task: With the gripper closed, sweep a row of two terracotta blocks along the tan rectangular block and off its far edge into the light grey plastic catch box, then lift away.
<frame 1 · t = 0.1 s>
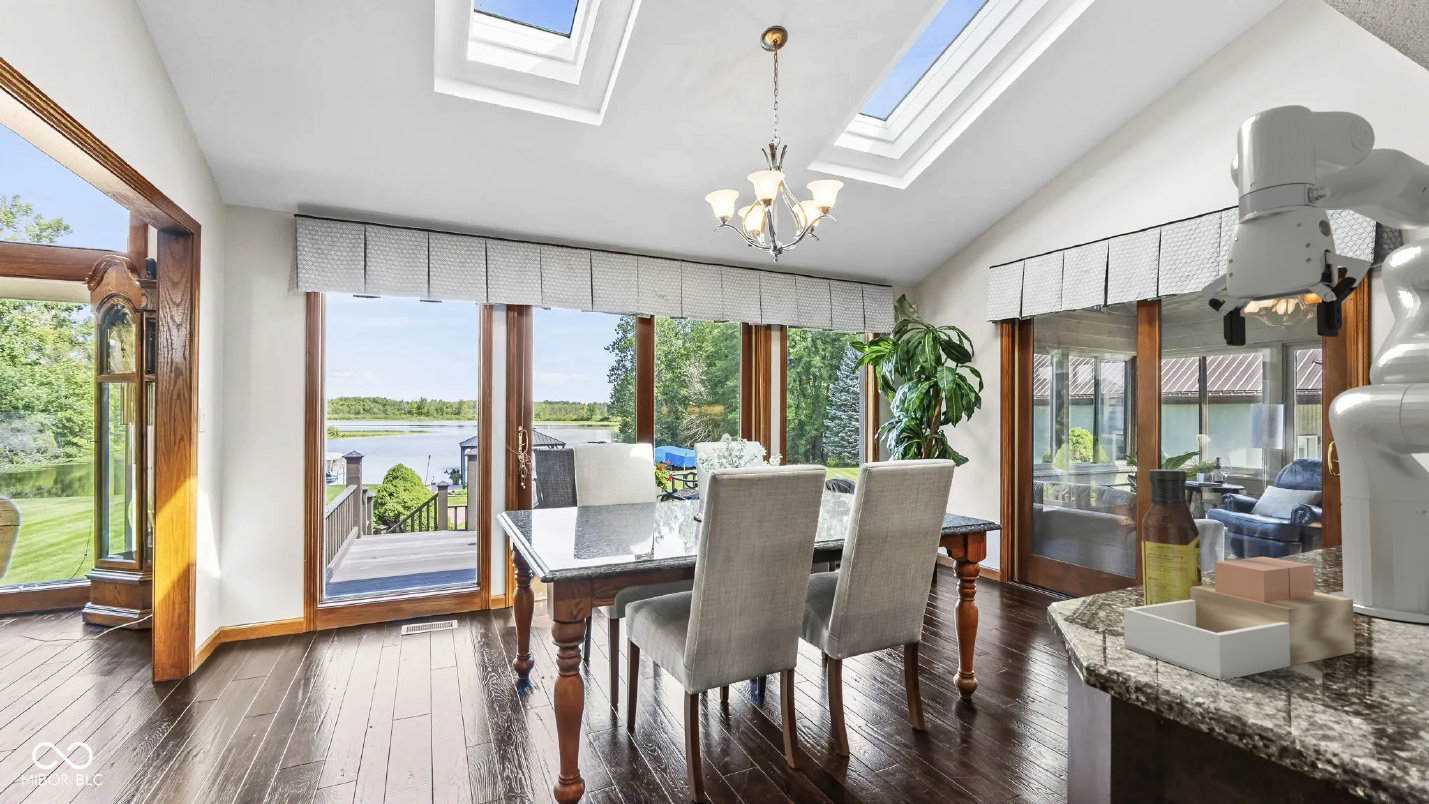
hand: (1279, 341, 81), 37 cm above the countertop, tool pointing down, fingers open, 9 cm apart
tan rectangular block: (1270, 644, 75), on the countertop
sauce bottle: (1172, 624, 83), on the countertop
catch box: (1204, 656, 71), on the countertop
far block: (1251, 595, 74), point 6 cm above the countertop, touching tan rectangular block
near block: (1276, 591, 76), point 6 cm above the countertop, touching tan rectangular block
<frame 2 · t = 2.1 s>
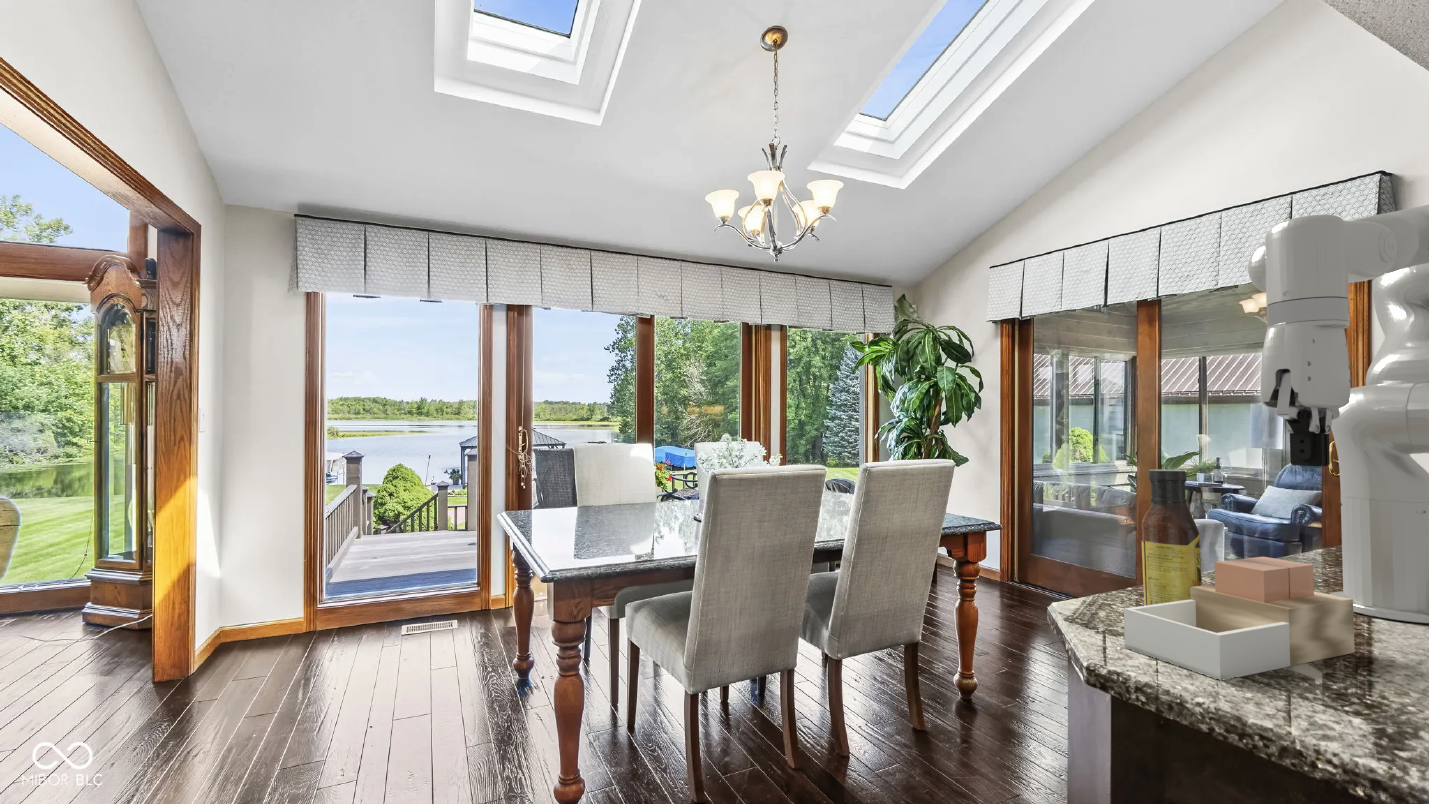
hand: (1309, 465, 79), 21 cm above the countertop, tool pointing down, fingers closed
nothing on the countertop moved.
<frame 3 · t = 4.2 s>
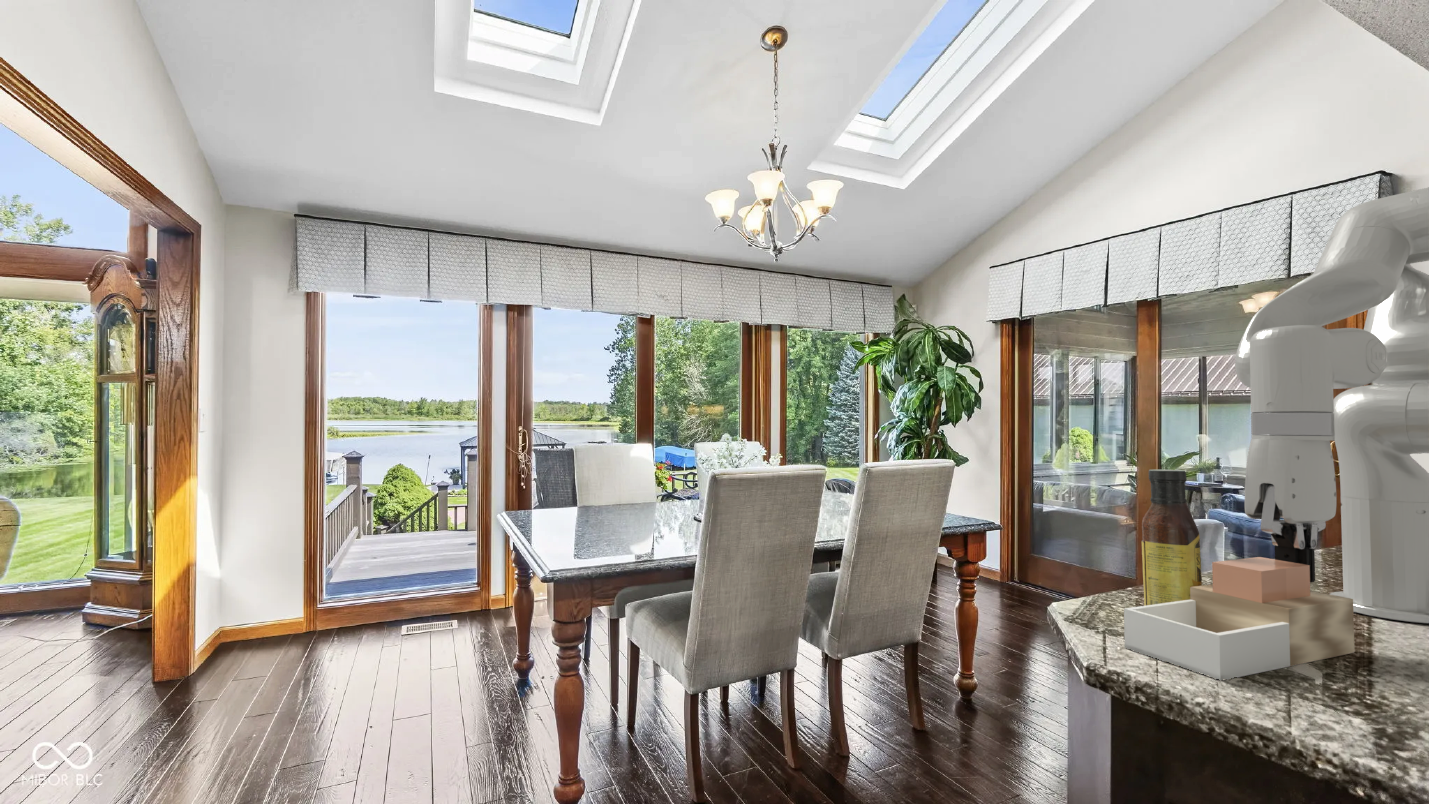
hand: (1294, 580, 77), 7 cm above the countertop, tool pointing down, fingers closed
near block: (1272, 592, 75), point 6 cm above the countertop, touching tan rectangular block, gripper
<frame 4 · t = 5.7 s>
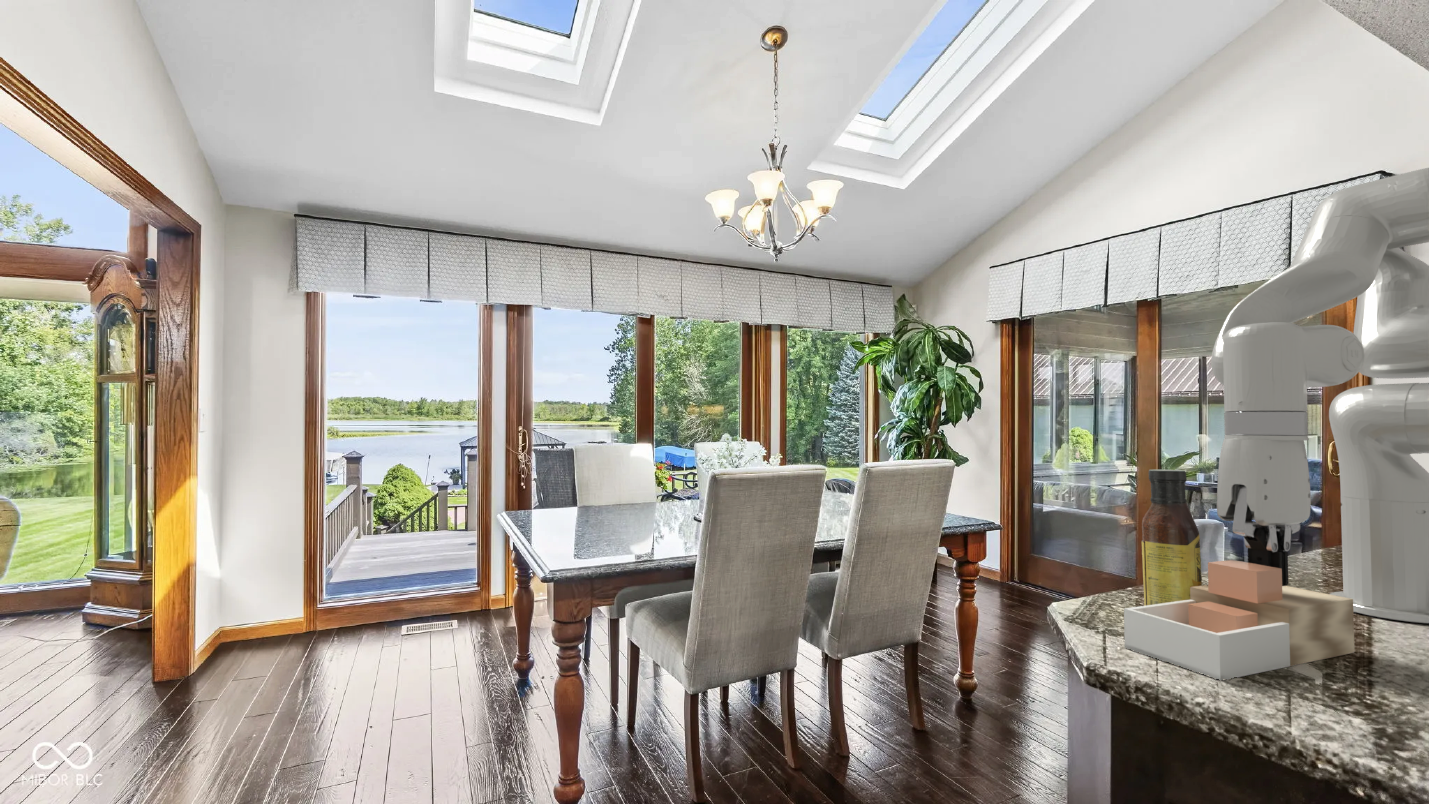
hand: (1268, 583, 75), 7 cm above the countertop, tool pointing down, fingers closed
far block: (1232, 627, 72), point 3 cm above the countertop, tilted 90°, touching catch box
near block: (1244, 596, 73), point 6 cm above the countertop, touching gripper
everything else where it was.
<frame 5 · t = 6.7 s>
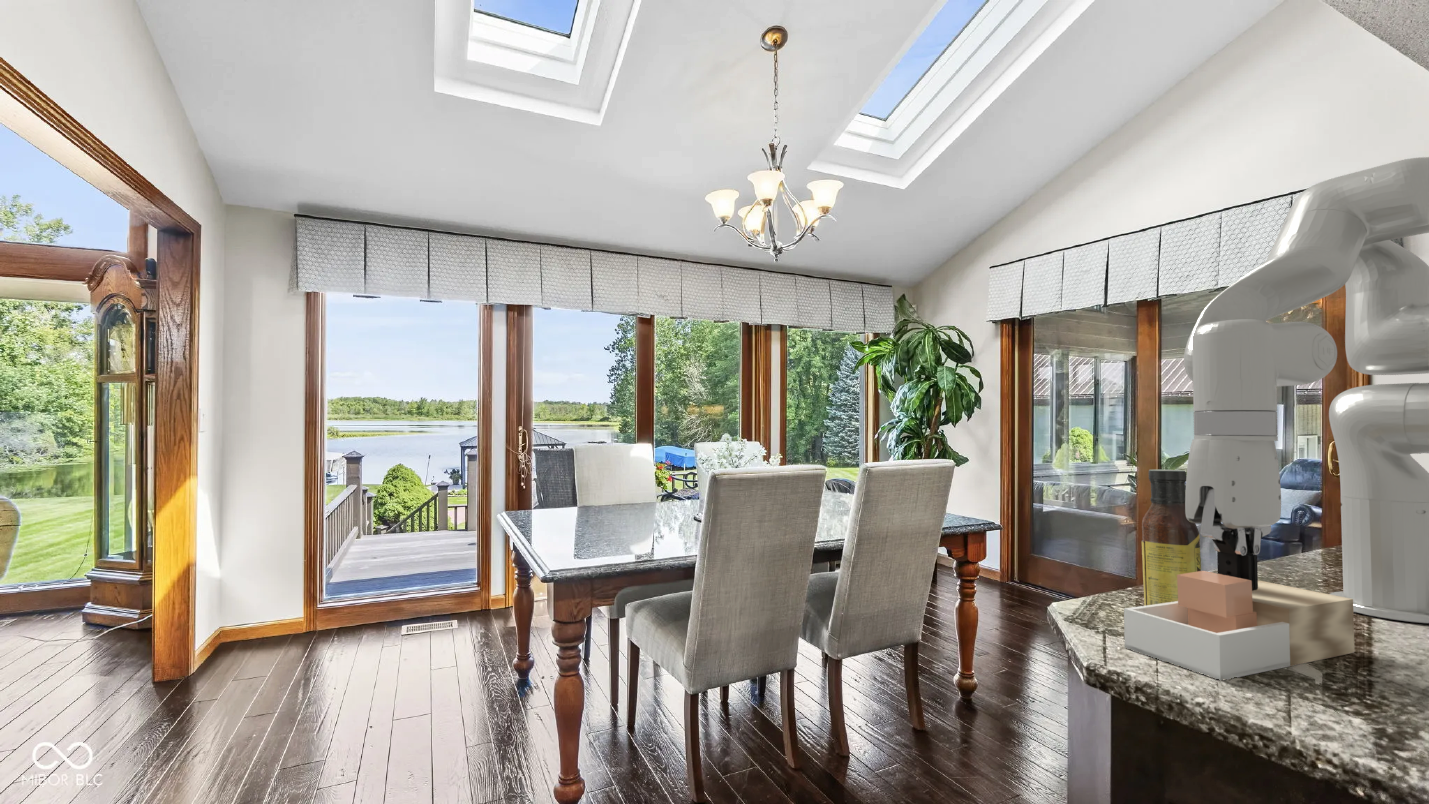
hand: (1237, 587, 73), 7 cm above the countertop, tool pointing down, fingers closed
far block: (1232, 626, 72), point 3 cm above the countertop, tilted 92°, touching catch box, near block
near block: (1214, 608, 72), point 5 cm above the countertop, touching far block, gripper
everything else where it was.
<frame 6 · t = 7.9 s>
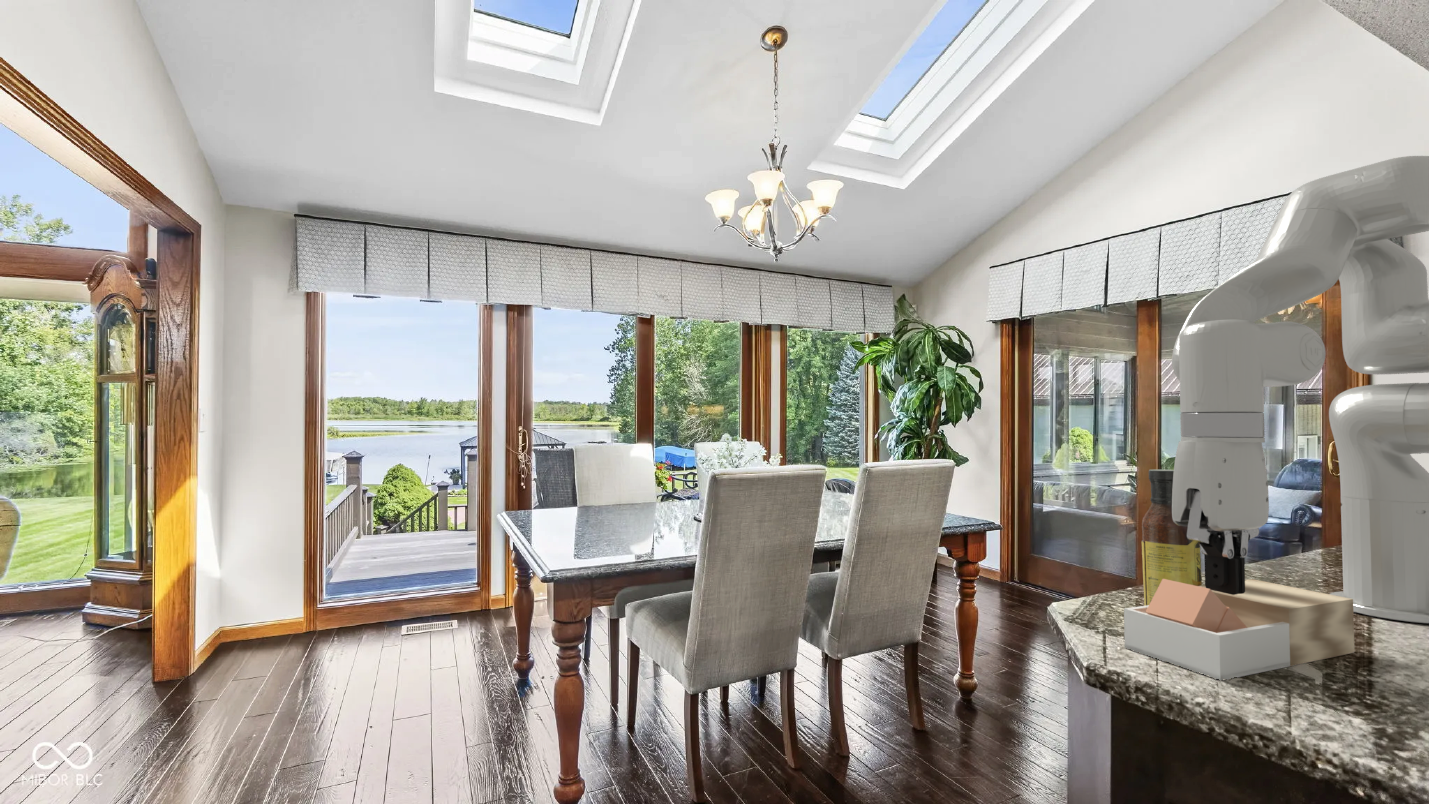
hand: (1224, 590, 72), 7 cm above the countertop, tool pointing down, fingers closed
far block: (1215, 613, 71), point 5 cm above the countertop, tilted 140°, touching catch box, near block
near block: (1194, 619, 70), point 4 cm above the countertop, tilted 50°, touching catch box, far block
everything else where it was.
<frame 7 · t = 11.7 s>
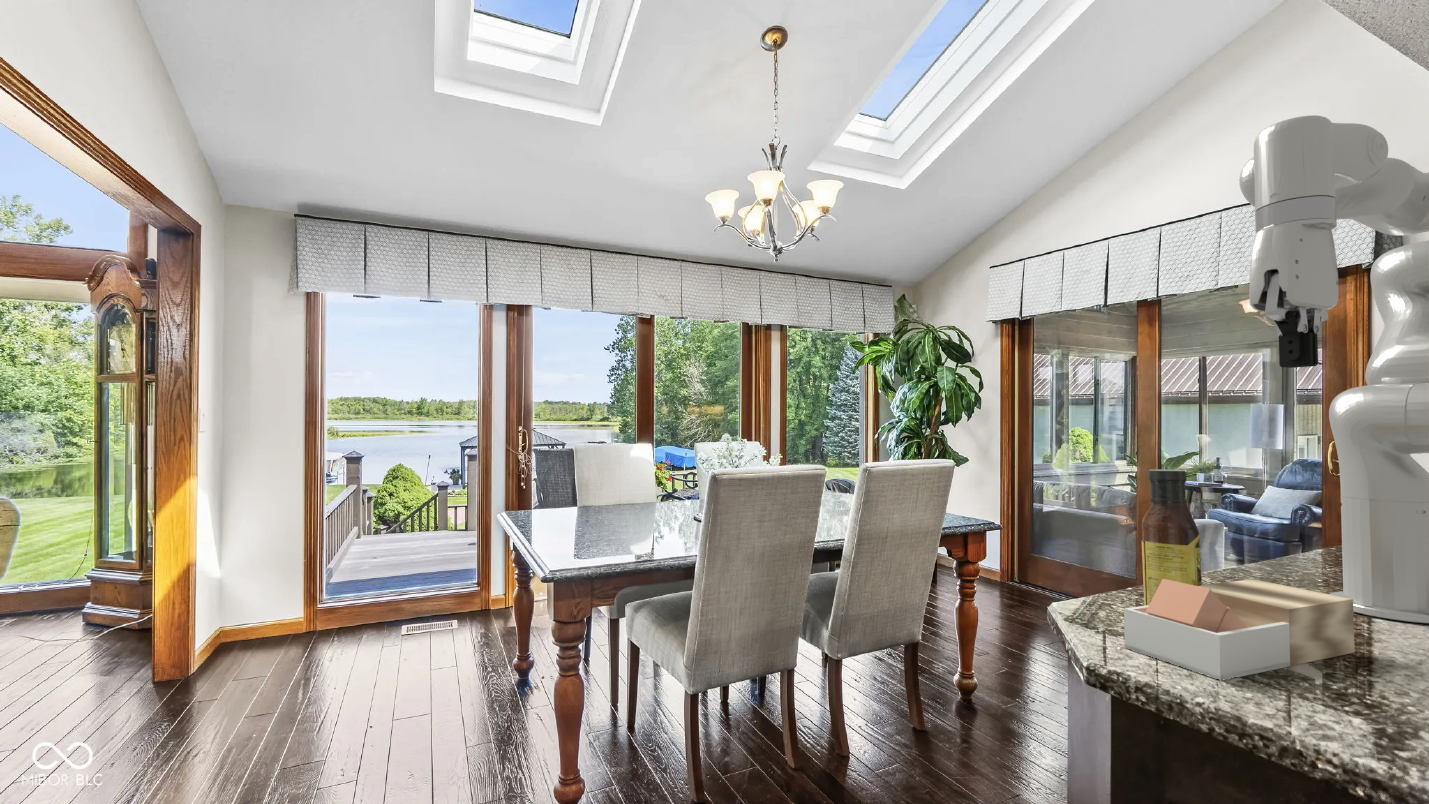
hand: (1298, 366, 79), 33 cm above the countertop, tool pointing down, fingers closed
nothing on the countertop moved.
at the end: near block inside the target area (1.1 cm from its centre), point 4.2 cm above the countertop; far block inside the target area (2.2 cm from its centre), point 4.6 cm above the countertop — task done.
